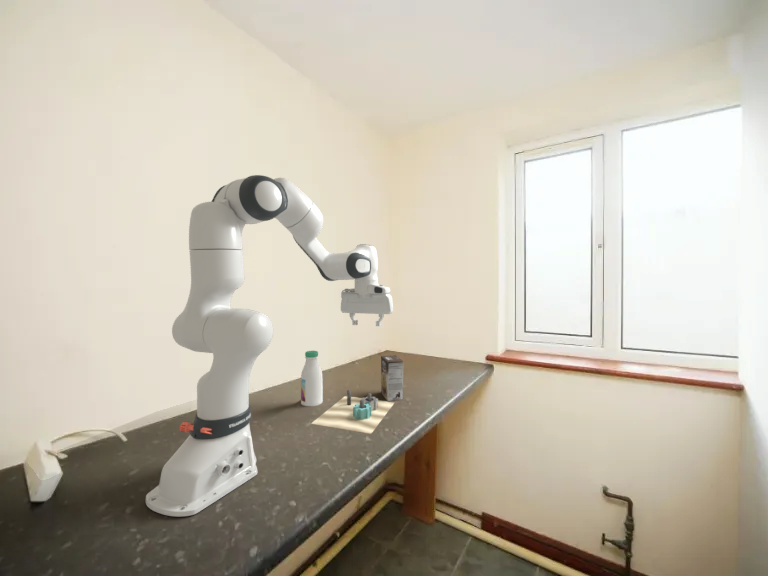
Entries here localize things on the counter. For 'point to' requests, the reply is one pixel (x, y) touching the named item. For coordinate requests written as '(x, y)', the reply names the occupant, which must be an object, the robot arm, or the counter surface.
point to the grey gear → (371, 402)
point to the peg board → (344, 419)
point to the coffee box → (392, 377)
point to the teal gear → (361, 411)
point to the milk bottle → (311, 381)
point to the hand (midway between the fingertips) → (366, 325)
